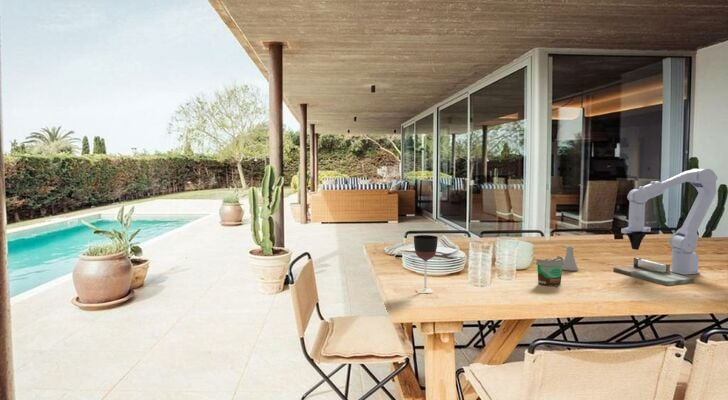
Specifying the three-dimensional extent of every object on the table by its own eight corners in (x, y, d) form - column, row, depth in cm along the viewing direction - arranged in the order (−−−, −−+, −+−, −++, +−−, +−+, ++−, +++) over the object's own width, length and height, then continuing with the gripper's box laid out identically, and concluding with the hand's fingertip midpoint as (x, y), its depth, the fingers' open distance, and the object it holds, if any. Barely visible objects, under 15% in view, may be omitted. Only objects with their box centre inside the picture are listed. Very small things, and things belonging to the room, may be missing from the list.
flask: (580, 271, 191) (581, 248, 190) (562, 271, 193) (563, 248, 192) (576, 267, 198) (576, 245, 198) (558, 267, 200) (559, 245, 199)
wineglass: (432, 295, 158) (432, 239, 156) (409, 292, 162) (409, 237, 161) (440, 290, 164) (441, 236, 163) (419, 286, 169) (419, 234, 167)
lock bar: (631, 265, 194) (631, 257, 194) (637, 265, 195) (637, 257, 194) (661, 273, 181) (661, 264, 180) (666, 272, 181) (667, 264, 181)
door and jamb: (638, 268, 196) (638, 257, 195) (693, 282, 173) (694, 269, 173) (613, 271, 192) (613, 259, 191) (666, 285, 169) (667, 272, 168)
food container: (548, 288, 166) (549, 262, 165) (535, 284, 171) (536, 259, 170) (571, 284, 171) (572, 258, 170) (557, 280, 177) (558, 255, 176)
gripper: (632, 219, 184) (630, 252, 185) (658, 217, 188) (656, 249, 189) (617, 217, 190) (616, 249, 191) (642, 216, 195) (641, 246, 196)
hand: (635, 249), depth 191 cm, fingers closed
